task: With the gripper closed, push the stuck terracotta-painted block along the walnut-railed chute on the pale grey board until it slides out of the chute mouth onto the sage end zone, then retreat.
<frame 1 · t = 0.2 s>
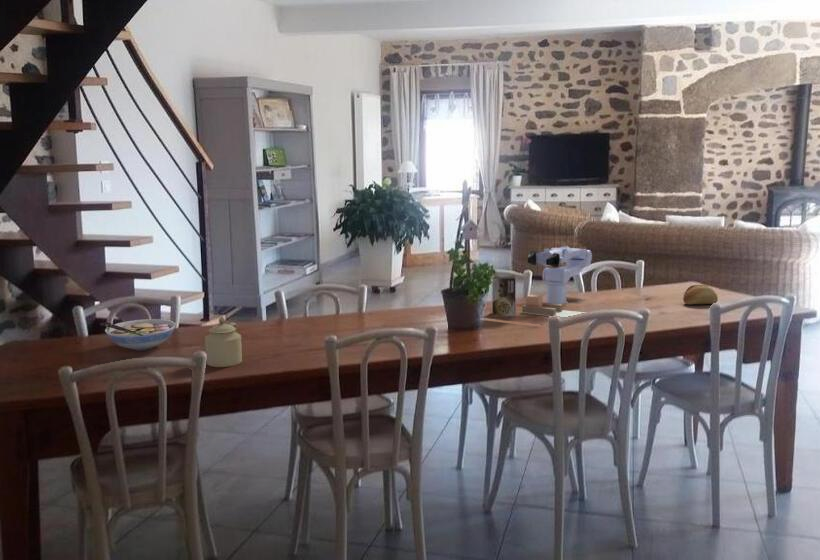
hand: (537, 261, 295), 21 cm above the table, tool horizontal, fingers open, 7 cm apart
block: (534, 303, 300), point 4 cm above the table, slide at 0.0 cm
chute board: (555, 315, 296), on the table
sugar bowl: (223, 361, 240), on the table
coffee box: (503, 317, 295), on the table
ramen bowl: (142, 348, 256), on the table
bread roll: (699, 304, 314), on the table
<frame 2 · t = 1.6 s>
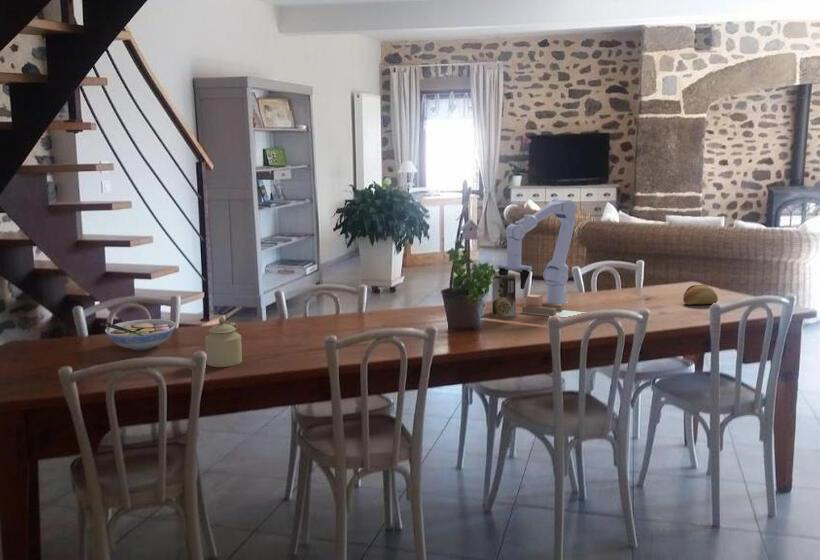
hand: (513, 287, 304), 9 cm above the table, tool pointing down, fingers open, 7 cm apart
nothing on the table moved.
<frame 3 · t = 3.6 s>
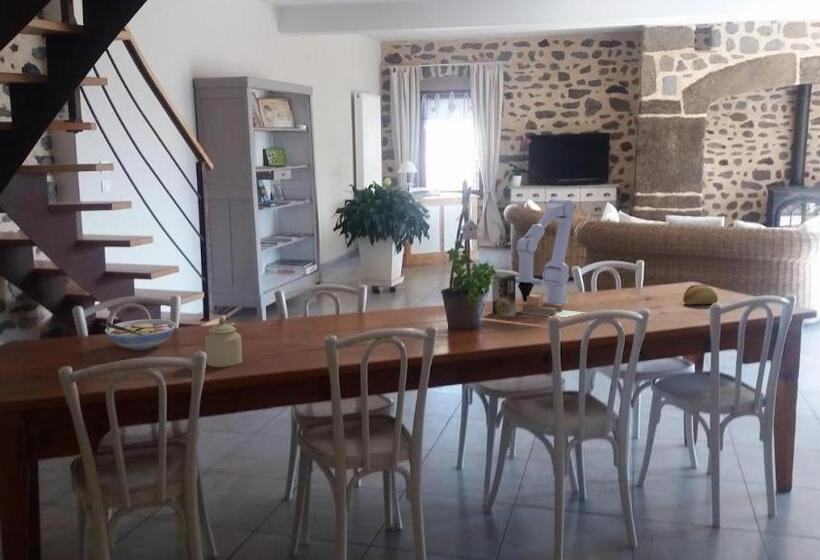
hand: (525, 301, 302), 4 cm above the table, tool pointing down, fingers closed
block: (534, 303, 300), point 4 cm above the table, slide at 0.1 cm, touching gripper
everything else where it was.
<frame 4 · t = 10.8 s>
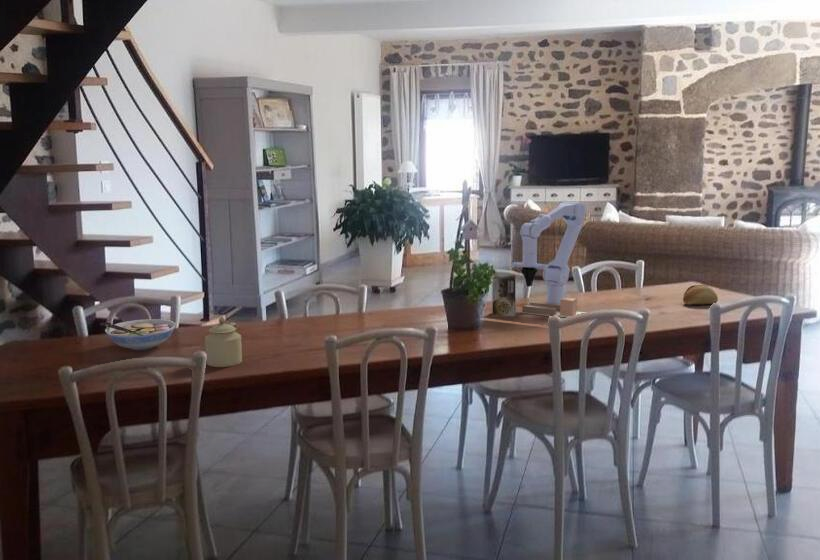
hand: (529, 286, 305), 10 cm above the table, tool pointing down, fingers closed
block: (568, 306, 293), point 4 cm above the table, slide at 14.0 cm
everything else where it was.
at the end: block slide at 14.0 cm; block inside the target area (1.0 cm from its centre), point 4.0 cm above the table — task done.
